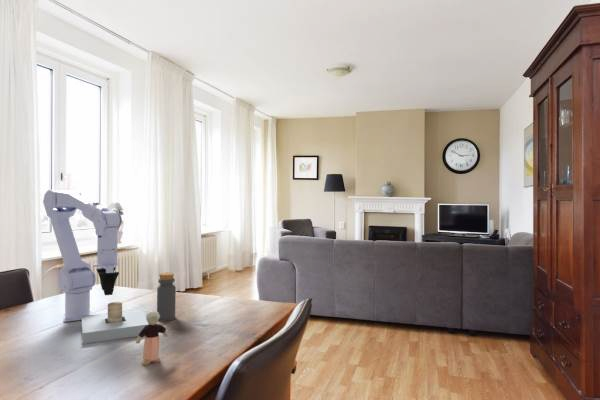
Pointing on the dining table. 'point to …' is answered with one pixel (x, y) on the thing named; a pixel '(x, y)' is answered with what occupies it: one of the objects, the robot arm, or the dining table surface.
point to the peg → (114, 312)
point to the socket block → (112, 326)
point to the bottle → (166, 297)
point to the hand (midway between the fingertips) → (107, 292)
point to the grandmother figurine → (151, 338)
